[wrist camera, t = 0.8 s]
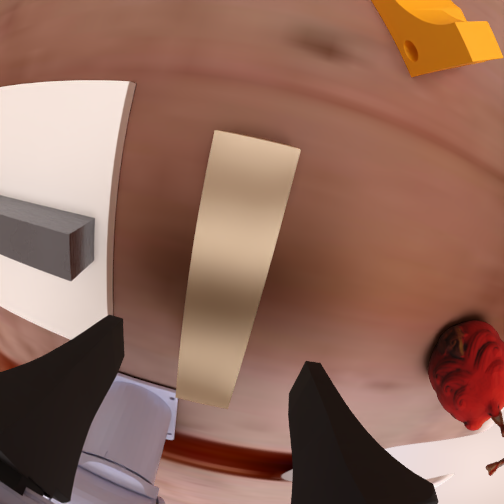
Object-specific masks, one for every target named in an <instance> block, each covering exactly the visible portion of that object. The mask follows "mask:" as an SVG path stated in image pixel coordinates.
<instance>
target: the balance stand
mask: <svg viewBox="0 0 504 504" xmlns="http://www.w3.org/2000/svg"><path fill="white" fill-rule="evenodd" d="M135 86H136V83H133V82H130V81H106V80H76V81H52V82H39V83H28V84H19V85H11V86H4V87H0V306H1V307H3V308H5V309H6V310H8V311H10V312H12V313H14V314H16V315H18V316H20V317H22V318H24V319H26V320H28V321H30V322H32V323H34V324H36V325H38V326H40V327H43V328H45V329H47V330H49V331H51V332H54V333H56V334H58V335H61V336H63V337H65V338H68V339H70V340H71V339H73V338H75V337H76V336H78V335H79V334H81V333H82V332H84V331H85V330H87V329H88V328H90V327H91V326H93V325H94V324H96V323H97V322H99V321H100V320H101V319H103V318H105V317H106V316H108V315H112V316H113V245H114V227H115V213H116V202H117V192H118V183H119V174H120V167H121V160H122V153H123V146H124V140H125V135H126V129H127V124H128V118H129V113H130V109H131V104H132V99H133V95H134V91H135Z"/></svg>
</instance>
